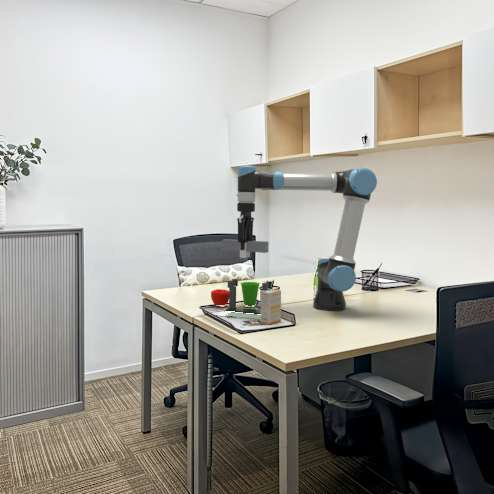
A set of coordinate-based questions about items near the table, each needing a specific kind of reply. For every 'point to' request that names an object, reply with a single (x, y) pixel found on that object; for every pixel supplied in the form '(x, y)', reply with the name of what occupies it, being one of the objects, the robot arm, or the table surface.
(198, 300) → the table surface
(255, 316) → the pad
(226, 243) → the rail
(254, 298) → the cup
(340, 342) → the table surface
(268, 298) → the supplement box
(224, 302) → the apple
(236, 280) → the standards
